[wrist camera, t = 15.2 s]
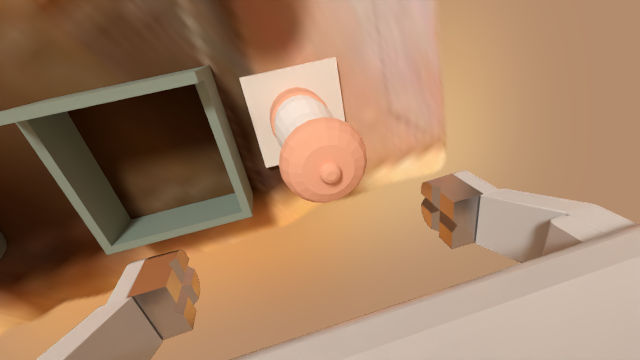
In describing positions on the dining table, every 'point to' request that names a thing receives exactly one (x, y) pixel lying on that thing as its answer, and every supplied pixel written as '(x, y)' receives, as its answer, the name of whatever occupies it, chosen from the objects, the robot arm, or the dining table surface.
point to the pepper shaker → (315, 147)
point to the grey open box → (93, 187)
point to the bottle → (2, 245)
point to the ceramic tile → (271, 83)
